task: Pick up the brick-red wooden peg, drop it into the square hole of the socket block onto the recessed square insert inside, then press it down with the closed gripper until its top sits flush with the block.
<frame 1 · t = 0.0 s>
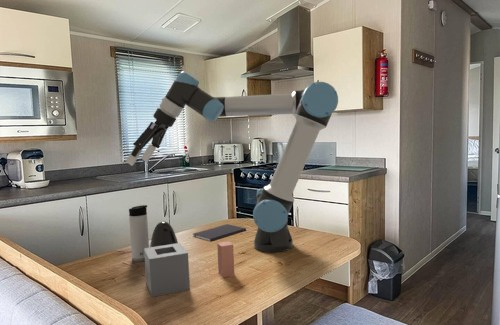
hand: (136, 161, 136), 36 cm above the table, tool tilted 35°, fingers open, 13 cm apart
travel mug: (141, 259, 139), on the table
socket block: (167, 286, 113), on the table
recessed square insert: (166, 268, 113), point 5 cm above the table, slide at 0.0 cm
peg: (226, 274, 121), on the table
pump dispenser: (165, 264, 132), on the table
notebook: (219, 234, 170), on the table
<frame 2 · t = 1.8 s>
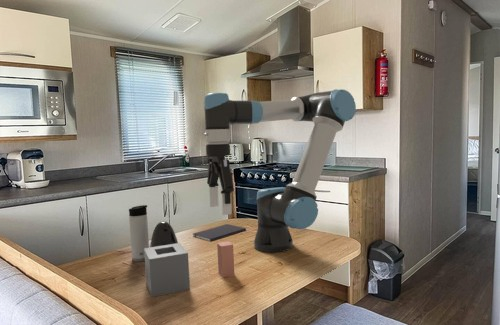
hand: (220, 210, 119), 21 cm above the table, tool pointing down, fingers open, 13 cm apart
nothing on the table moved.
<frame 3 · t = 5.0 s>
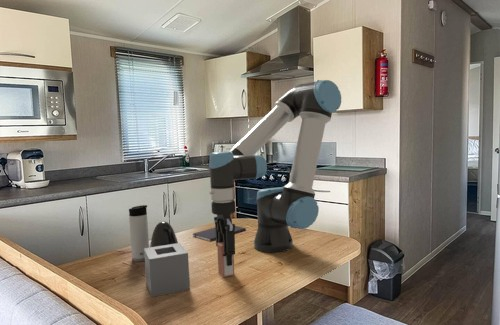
hand: (226, 272, 121), 1 cm above the table, tool pointing down, fingers closed on peg, 4 cm apart
peg: (226, 274, 121), on the table, touching gripper
everything else where it was.
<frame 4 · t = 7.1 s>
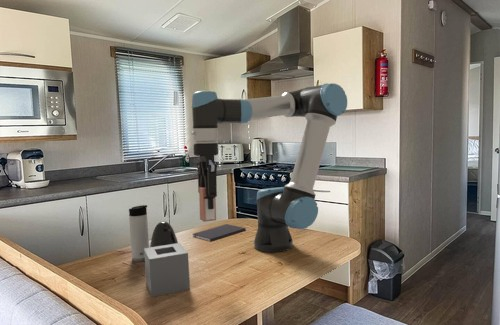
hand: (207, 217, 117), 19 cm above the table, tool pointing down, fingers closed on peg, 4 cm apart
peg: (207, 219, 117), point 19 cm above the table, touching gripper
everything else where it was.
when the fingers open (13 cm above the table, at t = 9.5 s): peg drops 8 cm, resting on recessed square insert.
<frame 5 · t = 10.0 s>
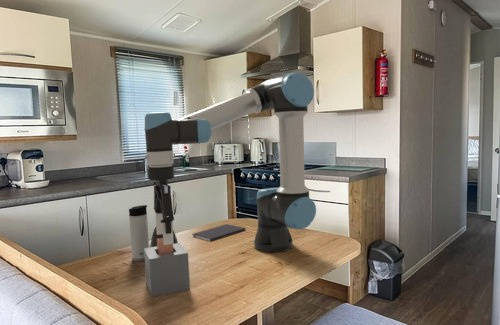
hand: (164, 238, 112), 15 cm above the table, tool pointing down, fingers open, 11 cm apart
recessed square insert: (166, 273, 113), point 4 cm above the table, slide at -1.6 cm, touching peg
peg: (166, 271, 113), point 4 cm above the table, touching recessed square insert
everything else where it was.
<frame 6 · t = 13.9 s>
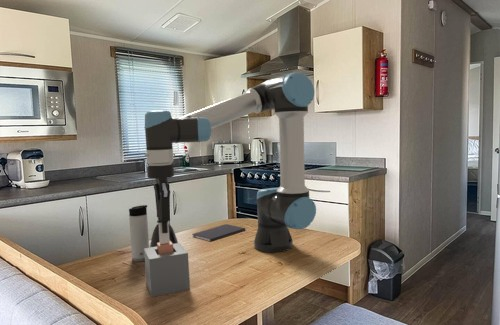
hand: (164, 242, 112), 13 cm above the table, tool pointing down, fingers closed
recessed square insert: (167, 277, 113), point 3 cm above the table, slide at -2.9 cm, touching peg
peg: (166, 275, 113), point 3 cm above the table, touching gripper, recessed square insert
everything else where it was.
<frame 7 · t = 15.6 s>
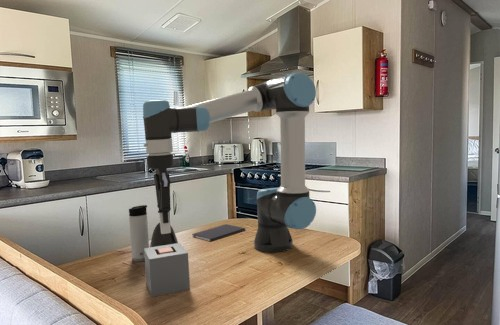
hand: (165, 232, 112), 16 cm above the table, tool pointing down, fingers closed
recessed square insert: (167, 284, 113), point 1 cm above the table, slide at -4.8 cm, touching peg
peg: (167, 282, 113), point 1 cm above the table, touching recessed square insert
everything else where it was.
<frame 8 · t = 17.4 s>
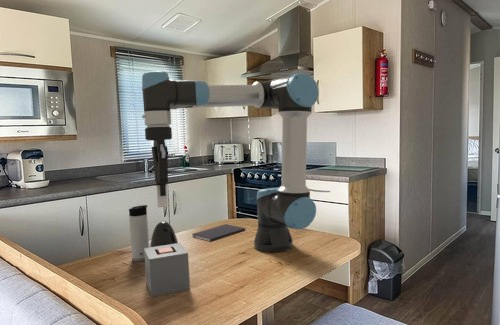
hand: (162, 206, 111), 24 cm above the table, tool pointing down, fingers closed
nothing on the table moved.
at the end: recessed square insert slide at -4.8 cm; peg 0.2 cm off-centre on the socket block, point 1.2 cm above the socket block's base; peg tilted 0° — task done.
